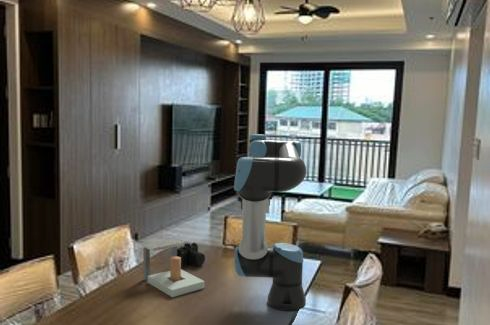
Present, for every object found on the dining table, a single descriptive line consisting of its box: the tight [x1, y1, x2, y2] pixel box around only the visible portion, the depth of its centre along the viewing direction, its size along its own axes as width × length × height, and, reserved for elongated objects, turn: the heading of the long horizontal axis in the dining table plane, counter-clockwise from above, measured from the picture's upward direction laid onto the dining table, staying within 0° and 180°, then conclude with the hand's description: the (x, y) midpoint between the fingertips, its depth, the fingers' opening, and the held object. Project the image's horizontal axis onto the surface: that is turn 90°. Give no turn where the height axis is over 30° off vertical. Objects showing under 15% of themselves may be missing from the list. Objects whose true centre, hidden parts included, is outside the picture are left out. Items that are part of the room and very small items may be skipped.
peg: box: [169, 256, 182, 282], centre depth 192 cm, size 4×4×12 cm
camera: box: [177, 242, 206, 268], centre depth 218 cm, size 14×11×10 cm
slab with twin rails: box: [142, 238, 185, 282], centre depth 199 cm, size 8×16×16 cm, turn 131°
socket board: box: [147, 268, 206, 298], centre depth 192 cm, size 20×16×3 cm
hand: (255, 214), depth 203 cm, fingers open, 13 cm apart
